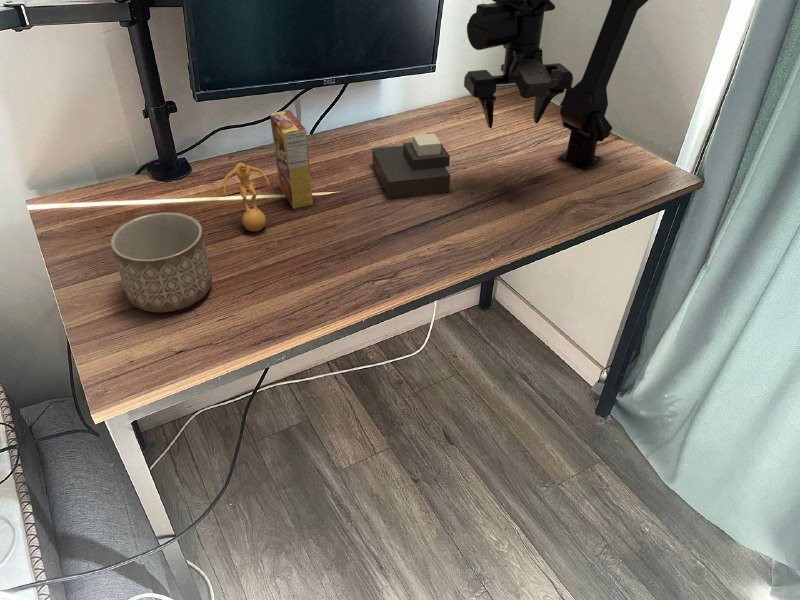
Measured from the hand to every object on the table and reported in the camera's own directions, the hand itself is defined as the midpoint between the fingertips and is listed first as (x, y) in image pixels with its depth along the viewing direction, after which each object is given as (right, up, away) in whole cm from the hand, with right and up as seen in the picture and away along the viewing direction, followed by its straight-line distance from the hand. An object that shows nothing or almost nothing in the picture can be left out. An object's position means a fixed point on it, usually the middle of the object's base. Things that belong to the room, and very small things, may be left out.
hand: (513, 125), depth 123 cm
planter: (-56, -31, -21) cm, 68 cm away
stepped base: (-19, -9, +8) cm, 23 cm away
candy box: (-41, -13, +2) cm, 43 cm away
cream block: (-16, -4, +5) cm, 17 cm away
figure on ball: (-47, -20, -6) cm, 51 cm away
